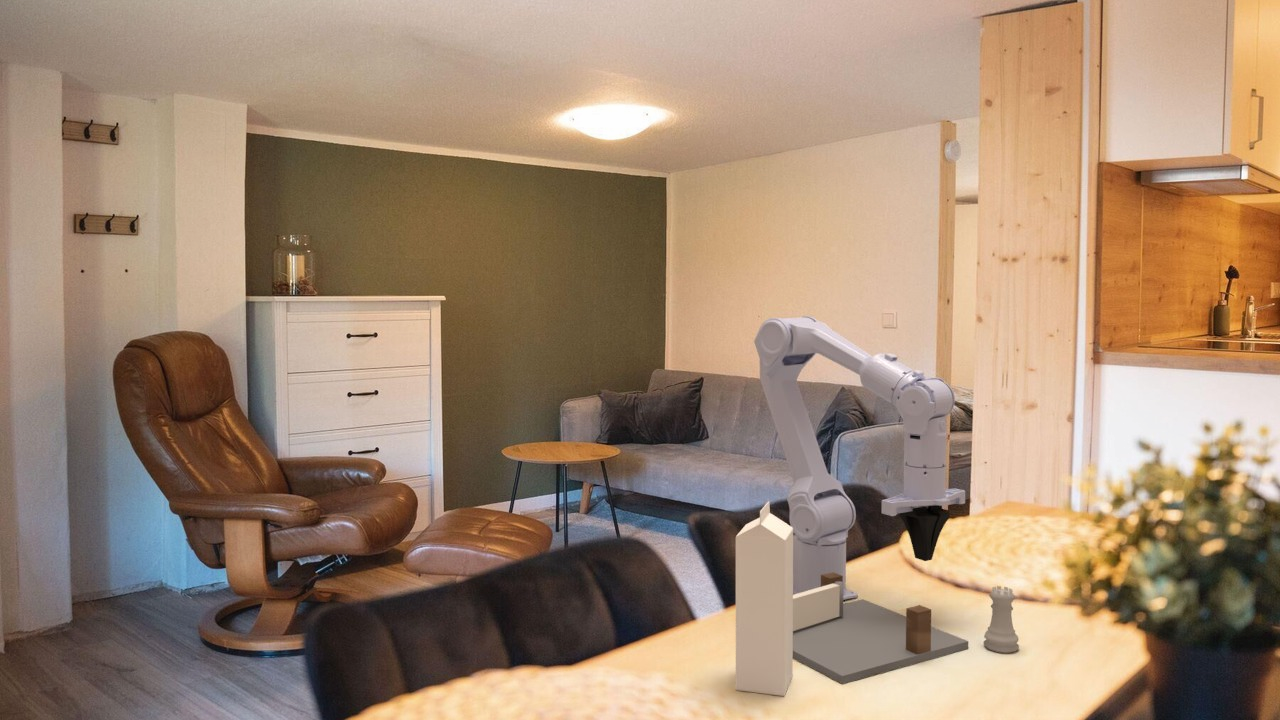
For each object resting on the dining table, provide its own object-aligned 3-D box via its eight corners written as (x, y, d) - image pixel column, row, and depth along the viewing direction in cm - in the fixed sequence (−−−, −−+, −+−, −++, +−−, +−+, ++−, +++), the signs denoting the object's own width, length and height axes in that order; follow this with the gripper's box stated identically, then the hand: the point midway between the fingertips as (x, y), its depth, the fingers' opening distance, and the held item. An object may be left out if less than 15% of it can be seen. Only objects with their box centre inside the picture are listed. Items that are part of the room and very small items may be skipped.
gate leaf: (836, 612, 137) (837, 580, 137) (846, 616, 136) (846, 583, 135) (771, 633, 129) (771, 598, 129) (781, 637, 128) (781, 602, 128)
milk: (735, 691, 114) (733, 510, 112) (745, 671, 120) (744, 498, 118) (786, 697, 112) (785, 513, 111) (794, 676, 118) (793, 501, 116)
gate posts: (820, 611, 138) (820, 574, 138) (833, 608, 140) (833, 572, 139) (917, 654, 122) (917, 612, 122) (930, 650, 123) (931, 609, 123)
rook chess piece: (1022, 655, 124) (1023, 595, 124) (986, 653, 125) (987, 593, 125) (1015, 642, 129) (1017, 584, 128) (980, 640, 130) (982, 583, 129)
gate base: (745, 632, 133) (744, 625, 133) (863, 605, 144) (863, 599, 144) (842, 683, 116) (842, 676, 116) (968, 648, 127) (968, 641, 127)
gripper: (908, 474, 127) (907, 573, 129) (983, 463, 135) (981, 557, 136) (871, 466, 134) (870, 561, 135) (944, 456, 141) (942, 546, 142)
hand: (923, 558), depth 136 cm, fingers closed
